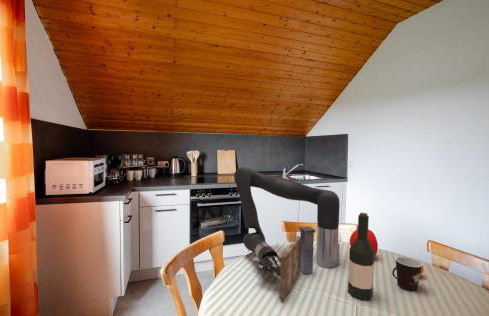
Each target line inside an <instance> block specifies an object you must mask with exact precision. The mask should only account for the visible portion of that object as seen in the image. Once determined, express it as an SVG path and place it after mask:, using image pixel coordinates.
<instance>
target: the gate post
mask: <svg viewBox="0 0 489 316" xmlns="http://www.w3.org/2000/svg"><path fill="white" fill-rule="evenodd" d="M298 230H300V231H299V232H300V234H299V237H301V258H300V273H301V274H302V275H303V276H308V275H313V269H314V265H313V264H314V240H315V239H314V237H315V236H314V235H315V233H316V229H315V228H313V227H311V226H300V227H298Z"/></svg>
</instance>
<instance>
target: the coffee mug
mask: <svg viewBox="0 0 489 316" xmlns="http://www.w3.org/2000/svg"><path fill="white" fill-rule="evenodd" d="M412 258H413V257H407V256H396V257H395V267H393V269H392V271H391V274H392V276H393V278H394V279H396V281H397V287H399V288H400V289H402V290H403V291H407V292H416V291H417V290H418V287H419V283H420V278H421V275H420V273H421V268H422V265H423V263H421V262H420V261H419V260H418V259H416V258H415V259H416V260H415V259H412ZM417 260H418V261H417ZM395 271H396V275H395Z"/></svg>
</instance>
